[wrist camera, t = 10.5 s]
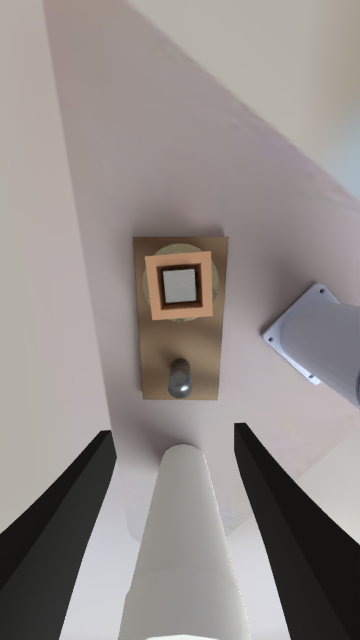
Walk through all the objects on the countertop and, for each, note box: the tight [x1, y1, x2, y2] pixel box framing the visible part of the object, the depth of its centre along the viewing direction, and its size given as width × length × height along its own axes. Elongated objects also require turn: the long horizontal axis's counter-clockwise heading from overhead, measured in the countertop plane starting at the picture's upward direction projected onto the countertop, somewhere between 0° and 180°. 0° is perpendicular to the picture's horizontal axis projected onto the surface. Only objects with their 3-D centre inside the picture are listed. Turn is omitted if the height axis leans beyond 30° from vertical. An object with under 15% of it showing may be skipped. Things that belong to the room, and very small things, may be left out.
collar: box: [145, 251, 213, 320], centre depth 15 cm, size 5×5×3 cm
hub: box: [142, 244, 219, 322], centre depth 15 cm, size 8×8×4 cm
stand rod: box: [168, 358, 192, 399], centre depth 17 cm, size 2×2×4 cm
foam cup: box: [118, 444, 252, 640], centre depth 17 cm, size 10×9×13 cm
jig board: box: [133, 237, 228, 400], centre depth 18 cm, size 18×9×1 cm, turn 0°
